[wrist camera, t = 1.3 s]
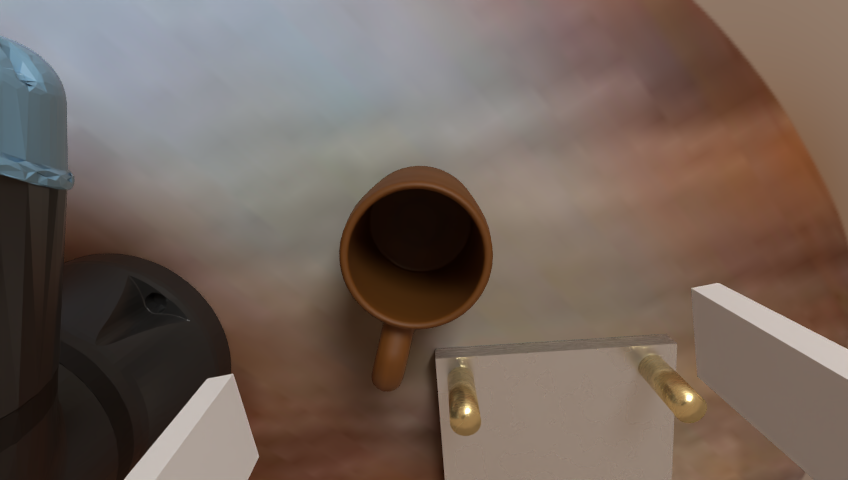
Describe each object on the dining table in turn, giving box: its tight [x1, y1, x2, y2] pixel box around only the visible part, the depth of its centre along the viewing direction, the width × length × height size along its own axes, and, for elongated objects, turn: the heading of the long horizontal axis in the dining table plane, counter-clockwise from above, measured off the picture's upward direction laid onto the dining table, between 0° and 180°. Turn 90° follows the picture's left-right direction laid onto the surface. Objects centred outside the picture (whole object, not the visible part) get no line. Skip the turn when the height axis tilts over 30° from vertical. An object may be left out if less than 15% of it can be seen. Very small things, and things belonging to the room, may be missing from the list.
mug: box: [339, 166, 493, 391], centre depth 28 cm, size 12×8×9 cm, turn 167°
